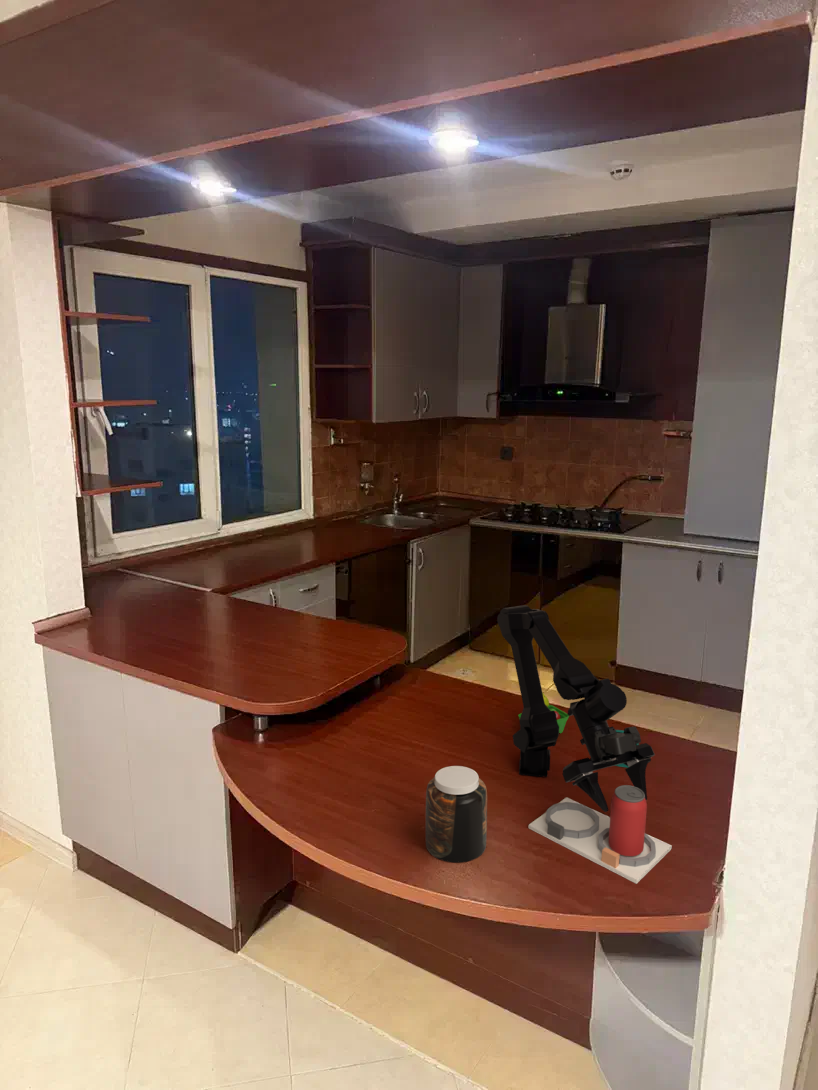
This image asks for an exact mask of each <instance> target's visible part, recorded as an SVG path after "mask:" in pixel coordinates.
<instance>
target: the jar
mask: <svg viewBox="0 0 818 1090" xmlns="http://www.w3.org/2000/svg"><path fill="white" fill-rule="evenodd" d="M434 774H435V775H434V777H433V778H432V779H430V781H429V782H428V783H427V786H426V791H425V848H426V850H427V851H428V852H429V854H430V855H431V856H432V857H434V858H435V859H438V860H440V861H443V862H446V863H447V862H449V863H456V864H457V863H460V864H461V863H466V862H471V861H473V860H476V859H478V858H479V857H480V856H482V855H483V854H484V852H485V851H486V847H487V833H488V831H487V829H488V791H487V785H486V784H485V782H484V781H483V780H482V779H481V778H479V774H478V773H477V772H476V771H475V770H474V769H472V768H470V767H467V766H462V765H451V766H445V767H443V768H441V769H439V770H437V772H436V773H434Z"/></svg>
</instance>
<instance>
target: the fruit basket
mask: <svg viewBox="0 0 818 1090" xmlns="http://www.w3.org/2000/svg"><path fill="white" fill-rule="evenodd" d="M542 693H543V698H544V702H545V705H546V706H547V707H548V708H549V709H550V710H551V711H555V713H556V718H557V723H558V726H559V733H560V734H562V733H563V732H564V729H565V726H566V724H567V721H568V720H569V717H570V716H568V712H565V711H564V710H561V709H559V708H558V707H556V706H554V705H553V704H550V700H549V698H548V697H547V696H546V694H544V692H543V691H542ZM521 714H522V712H520V713H519V714H518V715H517V716H518V720H520V717H521Z"/></svg>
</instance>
